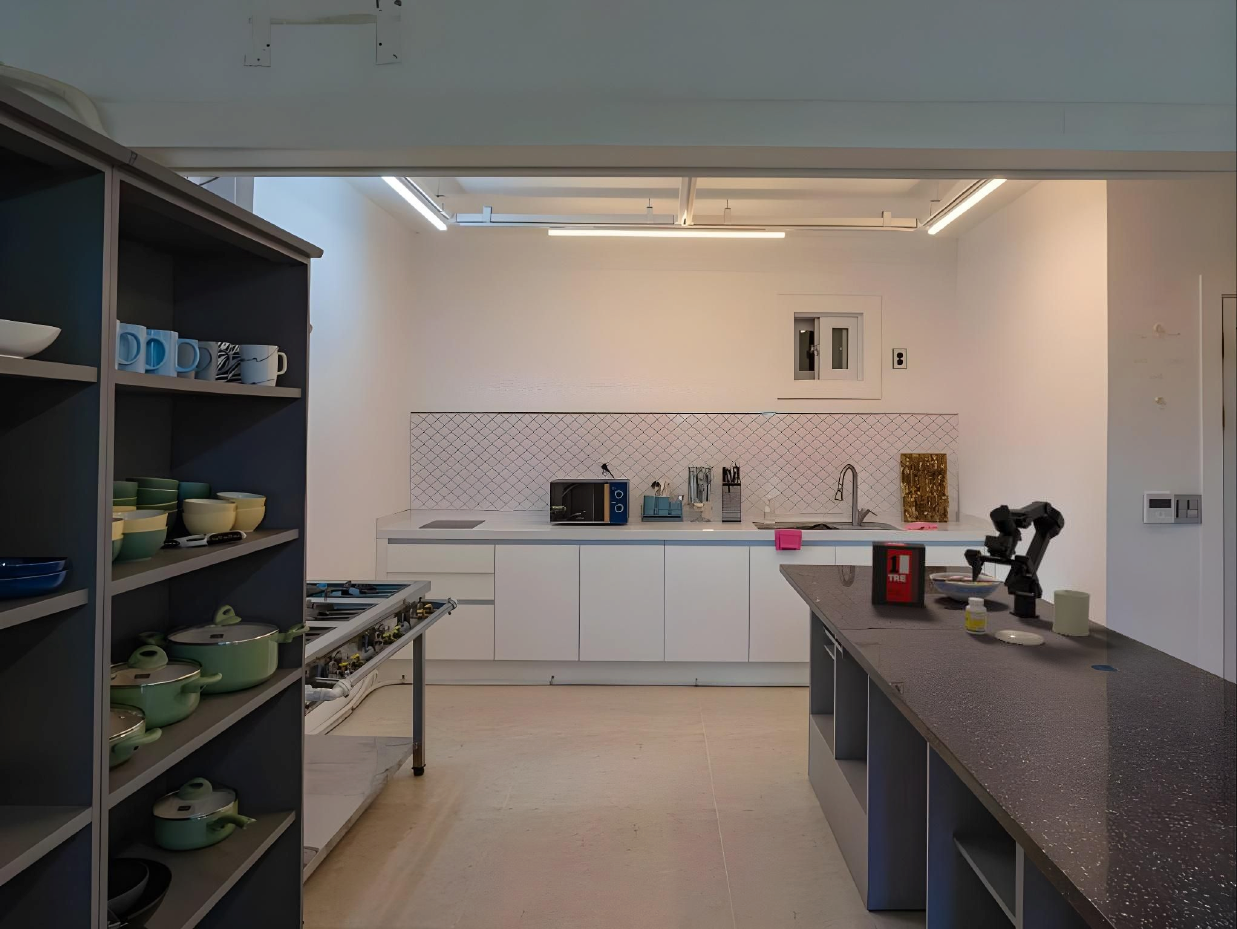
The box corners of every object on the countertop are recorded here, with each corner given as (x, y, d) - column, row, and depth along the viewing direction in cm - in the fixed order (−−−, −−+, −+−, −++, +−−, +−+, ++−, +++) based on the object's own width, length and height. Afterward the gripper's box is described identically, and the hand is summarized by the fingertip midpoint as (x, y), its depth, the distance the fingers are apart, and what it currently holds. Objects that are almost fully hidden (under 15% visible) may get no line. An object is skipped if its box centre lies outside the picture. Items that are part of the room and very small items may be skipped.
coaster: (986, 634, 223) (986, 630, 223) (1025, 633, 224) (1025, 630, 224) (1012, 645, 211) (1012, 642, 211) (1053, 644, 212) (1053, 641, 212)
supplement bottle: (968, 629, 229) (969, 596, 228) (988, 632, 225) (989, 598, 225) (962, 632, 225) (963, 599, 224) (983, 635, 221) (983, 601, 221)
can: (1079, 629, 230) (1080, 588, 229) (1095, 637, 221) (1096, 595, 220) (1046, 628, 231) (1047, 587, 230) (1061, 636, 222) (1062, 594, 221)
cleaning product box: (922, 601, 266) (923, 543, 265) (924, 607, 257) (925, 547, 256) (871, 598, 270) (872, 541, 270) (871, 603, 262) (872, 544, 261)
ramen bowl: (989, 593, 280) (990, 571, 280) (1015, 608, 257) (1016, 583, 257) (917, 591, 282) (918, 569, 282) (937, 605, 260) (937, 581, 259)
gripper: (967, 522, 239) (949, 561, 233) (1031, 528, 225) (1013, 570, 218) (978, 545, 245) (961, 584, 238) (1041, 553, 231) (1024, 594, 224)
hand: (988, 583), depth 229 cm, fingers open, 9 cm apart
